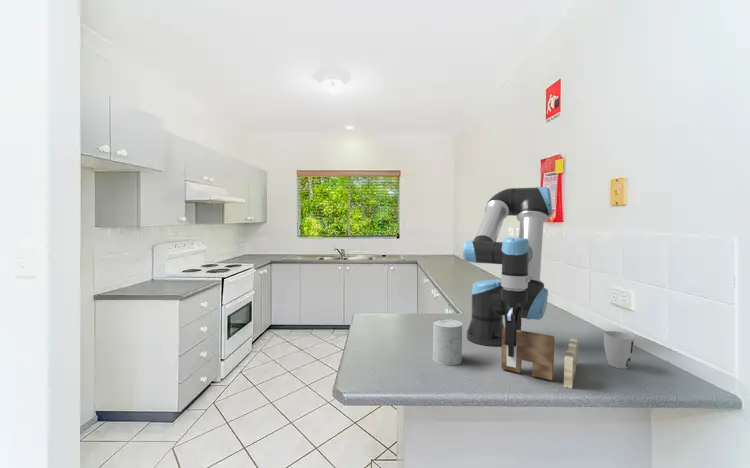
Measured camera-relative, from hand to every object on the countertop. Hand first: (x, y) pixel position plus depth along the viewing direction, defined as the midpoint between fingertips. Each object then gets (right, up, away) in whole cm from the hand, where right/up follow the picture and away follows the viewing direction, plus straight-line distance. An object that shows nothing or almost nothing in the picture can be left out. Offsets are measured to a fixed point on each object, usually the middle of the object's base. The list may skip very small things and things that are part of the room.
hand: (512, 363), depth 104 cm
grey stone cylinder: (-18, -2, +8) cm, 20 cm away
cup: (+36, -3, +5) cm, 37 cm away
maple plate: (+17, -2, -2) cm, 17 cm away
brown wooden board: (+3, -2, -2) cm, 4 cm away
